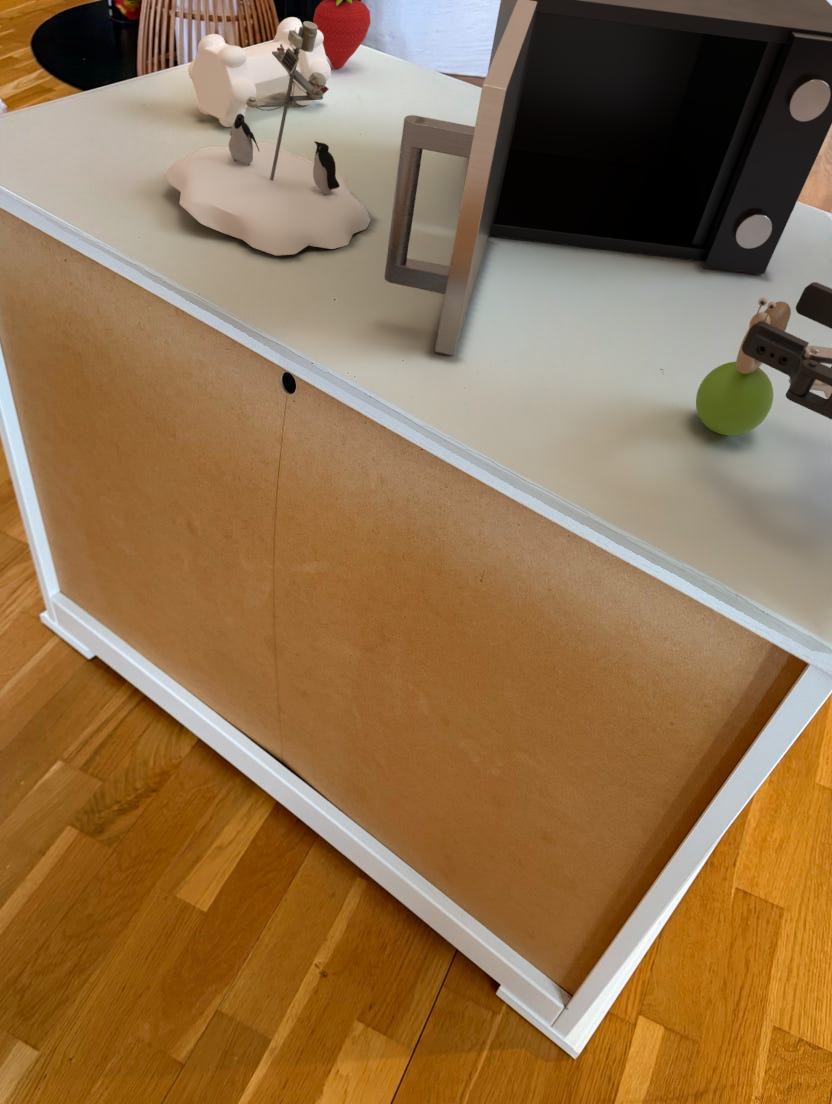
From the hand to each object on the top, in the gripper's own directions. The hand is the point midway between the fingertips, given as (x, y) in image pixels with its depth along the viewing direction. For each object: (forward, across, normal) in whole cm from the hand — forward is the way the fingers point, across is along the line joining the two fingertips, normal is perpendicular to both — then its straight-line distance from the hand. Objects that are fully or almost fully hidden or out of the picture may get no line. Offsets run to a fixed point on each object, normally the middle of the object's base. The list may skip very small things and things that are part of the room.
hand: (776, 315), depth 64 cm
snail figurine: (0, 0, +10) cm, 10 cm away
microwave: (+27, -26, +10) cm, 39 cm away
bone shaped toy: (+67, -14, +10) cm, 69 cm away
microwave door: (+28, +1, +10) cm, 30 cm away
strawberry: (+72, -32, +10) cm, 79 cm away
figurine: (+48, +2, +10) cm, 50 cm away
